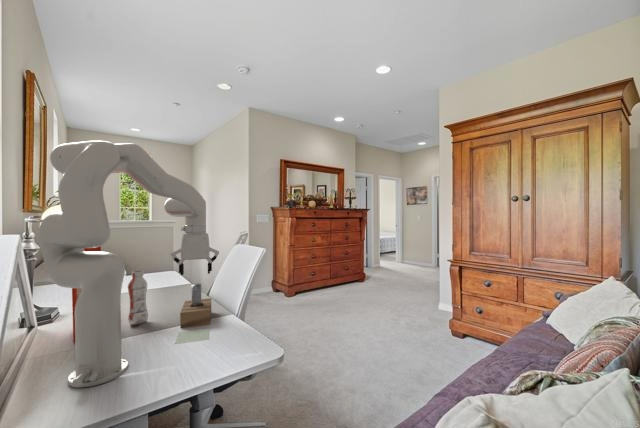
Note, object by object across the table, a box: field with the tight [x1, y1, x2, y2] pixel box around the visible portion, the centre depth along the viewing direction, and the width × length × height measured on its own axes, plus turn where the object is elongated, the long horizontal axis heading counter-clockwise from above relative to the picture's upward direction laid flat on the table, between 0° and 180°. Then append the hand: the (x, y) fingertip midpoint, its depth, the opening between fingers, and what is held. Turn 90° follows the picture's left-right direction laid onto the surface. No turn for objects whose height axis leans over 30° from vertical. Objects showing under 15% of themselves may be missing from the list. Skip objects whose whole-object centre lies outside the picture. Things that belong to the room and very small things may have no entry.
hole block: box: [179, 297, 212, 329], centre depth 115 cm, size 16×10×6 cm, turn 19°
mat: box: [174, 328, 211, 345], centre depth 99 cm, size 10×10×1 cm
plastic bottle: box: [127, 270, 149, 326], centre depth 112 cm, size 6×7×20 cm
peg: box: [190, 283, 202, 307], centre depth 115 cm, size 4×4×14 cm
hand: (195, 273), depth 115 cm, fingers open, 9 cm apart
